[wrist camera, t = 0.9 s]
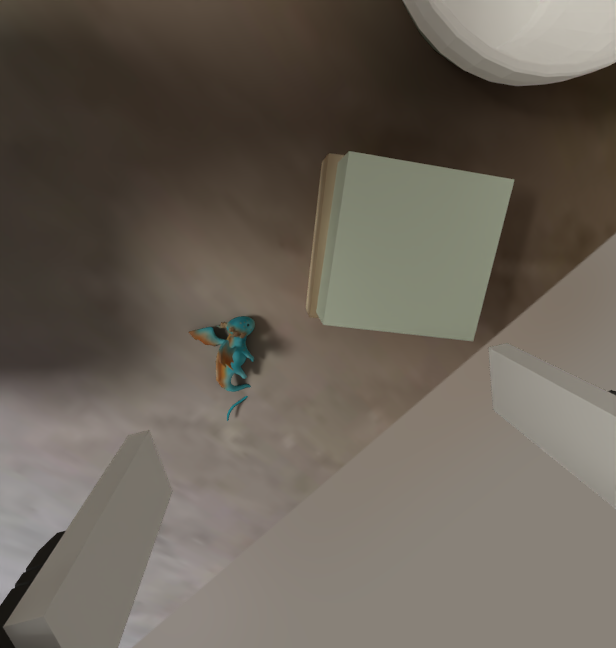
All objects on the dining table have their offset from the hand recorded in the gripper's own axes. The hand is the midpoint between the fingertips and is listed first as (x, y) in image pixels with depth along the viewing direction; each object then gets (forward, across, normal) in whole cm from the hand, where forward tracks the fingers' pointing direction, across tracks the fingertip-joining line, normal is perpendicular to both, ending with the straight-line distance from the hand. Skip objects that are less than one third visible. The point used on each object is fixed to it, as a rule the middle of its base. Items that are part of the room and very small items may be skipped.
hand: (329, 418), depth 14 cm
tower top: (+15, +9, +4) cm, 18 cm away
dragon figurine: (+20, -6, -3) cm, 21 cm away
